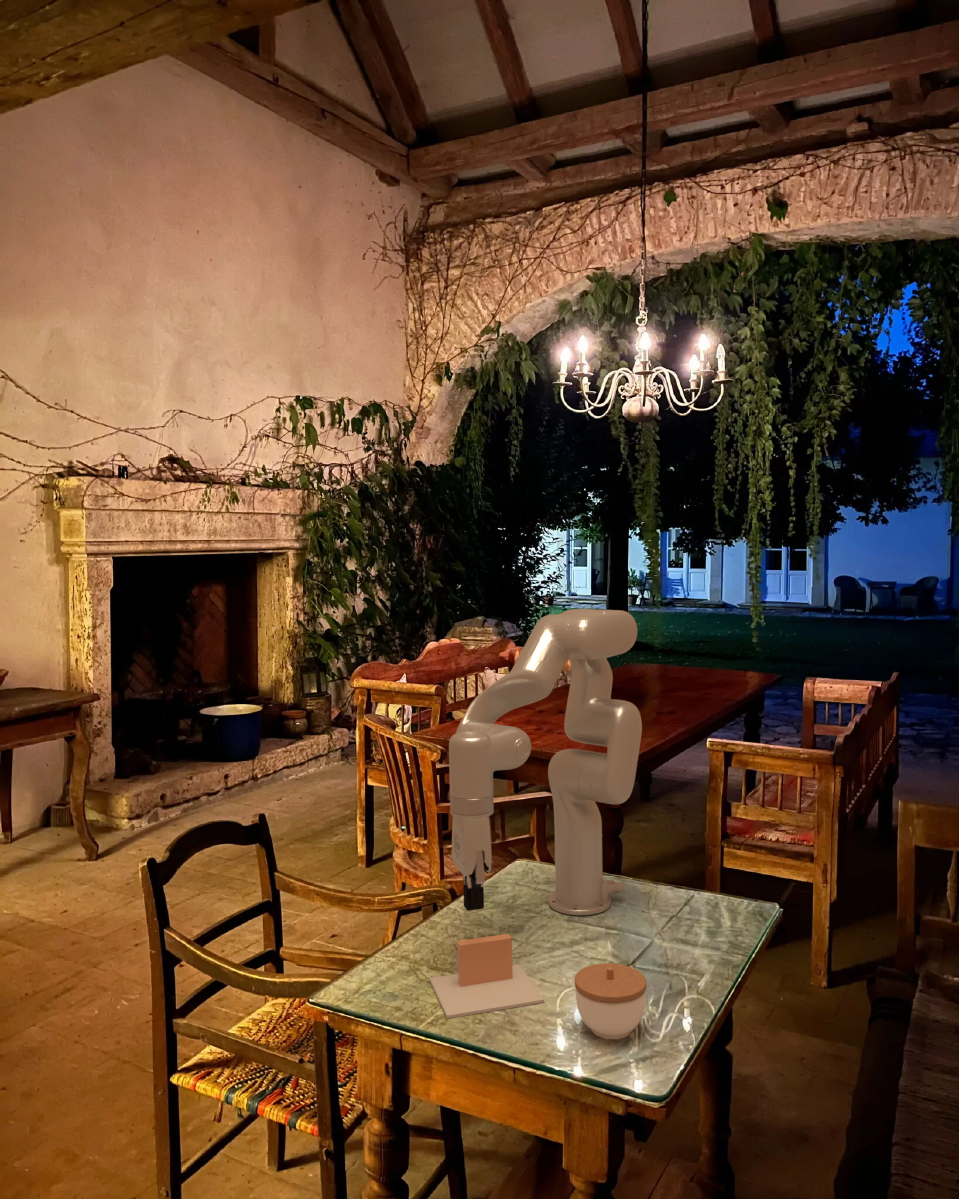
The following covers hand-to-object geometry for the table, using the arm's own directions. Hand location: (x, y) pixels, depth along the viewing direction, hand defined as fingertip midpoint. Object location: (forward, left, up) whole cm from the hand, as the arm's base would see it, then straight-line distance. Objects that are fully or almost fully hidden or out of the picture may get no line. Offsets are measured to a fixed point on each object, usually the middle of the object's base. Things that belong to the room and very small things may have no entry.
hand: (473, 907), depth 160 cm
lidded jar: (-14, +26, -11) cm, 32 cm away
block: (0, +6, -10) cm, 12 cm away
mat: (+1, +9, -10) cm, 14 cm away
